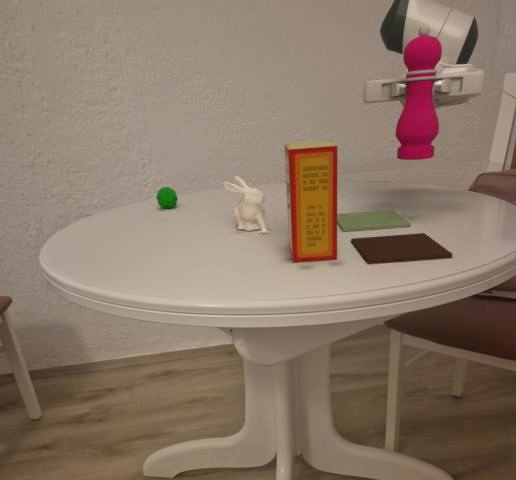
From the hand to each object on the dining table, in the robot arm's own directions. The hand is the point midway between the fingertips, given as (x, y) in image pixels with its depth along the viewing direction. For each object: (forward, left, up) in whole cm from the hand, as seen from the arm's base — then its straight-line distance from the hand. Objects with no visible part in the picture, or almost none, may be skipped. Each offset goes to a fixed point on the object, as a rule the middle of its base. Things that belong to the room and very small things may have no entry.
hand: (420, 87), depth 80 cm
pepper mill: (0, -1, -11) cm, 11 cm away
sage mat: (+8, -1, -22) cm, 23 cm away
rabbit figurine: (+31, -3, -22) cm, 38 cm away
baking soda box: (+21, +16, -22) cm, 34 cm away
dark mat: (+8, +18, -22) cm, 29 cm away
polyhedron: (+50, -30, -22) cm, 62 cm away
